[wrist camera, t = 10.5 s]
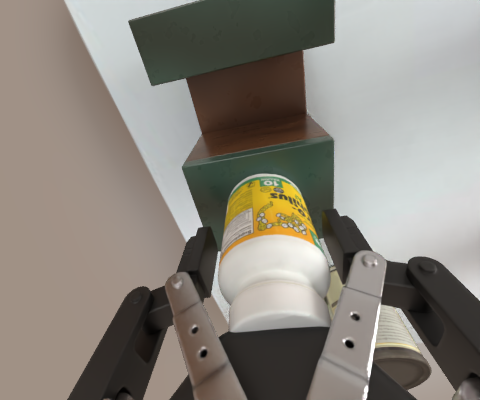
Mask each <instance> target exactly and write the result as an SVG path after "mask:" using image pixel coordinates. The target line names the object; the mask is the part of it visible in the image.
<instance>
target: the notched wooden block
mask: <svg viewBox="0 0 480 400" xmlns="http://www.w3.org/2000/svg"><path fill="white" fill-rule="evenodd" d="M128 22H129V25H130V28H131V31H132V33H133V36H134V39H135V42H136V44H137V47H138V50H139V52H140V55H141V58H142V61H143V63H144V66H145V69H146V72H147V74H148V77H149V80H150V83H151V85H152V86H155V85H159V84H164V83H168V82H172V81H176V80H180V79H184V78H186V80H187V83H188V87H189V90H190V94H191V97H192V101H193V104H194V108H195V111H196V114H197V118H198V121H199V125H200V128H201V132H202V135H201V137H200V139H199V140H198V142H197V143H196V145H195V146H194V148H193V150H192V151H191V153H190V154H189V156H188V158H187V159H186V161H185V163H184V164H183V166H182V170H183V173H184V176H185V178H186V181H187V184H188V186H189V189H190V192H191V195H192V197H193V200H194V203H195V206H196V208H197V211H198V214H199V217H200V219H201V222H202V225H203V227H208V226H210V227H211V228H212V231H213V234H214V237H215V240H216V243H217V248H218V251H221V248H222V240H223V234H224V227H225V218H226V211H227V204H228V200H229V197H230V194H231V192H232V190H233V189H234V188H235V187H236V185H237V184H238V183H240V182H241V181H242V180H244V179H245V178H247V177H249V176H252V175H256V174H276V175H280V176H283V177H285V178H287V179H288V180H290V181H291V182H293V183H294V184H295V185H296V187H297V188H298V189H299V191H300V193H301V195H302V197H303V200H304V202H305V205H306V208H307V210H308V213H309V215H310V218H311V221H312V223H313V226H314V228H315V231H316V233H317V236H318V238H319V239H320V238H323V233H322V210H328V209H334V139H333V138H332V137H331V136H330V135H329V134H328V133H327V132H326V131H325V130H324V129H323V128H322V127H321V126H320V125H318V124H317V123H316V122H315V121H314V120H313V119H312V118H311V117H310V116H309V115H308V114H307V111H306V92H305V72H304V53H303V50H306V49H310V48H314V47H319V46H323V45H327V44H331V43H334V42H335V0H199V1H195V2H192V3H188V4H185V5H181V6H178V7H174V8H171V9H167V10H164V11H160V12H157V13H153V14H150V15H146V16H143V17H139V18H136V19H132V20H129V21H128Z"/></svg>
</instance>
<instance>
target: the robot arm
mask: <svg viewBox="0 0 480 400" xmlns="http://www.w3.org/2000/svg"><path fill="white" fill-rule="evenodd" d="M322 233H323V238H324V241H325V243H326V246H327V248H328V251H329V253H330V256H331V258H332V260H333V263H334V265H335V268H336V270H337V273H338V275H339V277H340V280H341V282H342V285H345V286H343V287H342V290H341V293H340V296H339V300H338V303H337V306H336V310H335V313H334V316H333V319H332V323H331V326H330V327H323V326H318V327H300V328H284V329H270V330H260V331H249V332H230V331H228V332H227V333H225V334H223V335H221V336H220V337H218V335H217V333H216V331H215V329H214V327H213V325H212V323H211V320H210V318H209V316H208V314H207V312H206V309H205V307H204V305H203V302H204V298H208V297H210V296H211V291H212V285H213V279H214V273H215V266H216V260H217V254H218V248H217V243H216V240H215V237H214V234H213V231H212V228H211V227H210V226H208V227H201V228H198V230H197V234H196V236H193V237H191V238H190V239H189V240H188V242H187V243H186V246H185V250H184V252H183V255H182V258H181V261H180V264H179V266H178V270H177V272H176V274H174V275H172V276H171V277H170V278H169V279H168V280H167V282H166V284H165V286H163V287H160V288H158V289H155V290H152V291H150V290H149V288H147V287H144V286H142V287H138V288H136V289H134V290H132V291H131V292H130V293H129V294H128V295H127V296H126V297H125V299H124V301H123V302H122V304H121V306H120V308H119V309H118V311H117V313H116V315H115V317H114V318H113V320H112V322H111V324H110V325H109V327H108V329H107V331H106V332H105V334H104V336H103V338H102V340H101V341H100V343H99V345H98V347H97V348H96V350H95V352H94V354H93V355H92V357H91V359H90V361H89V362H88V364H87V366H86V368H85V370H84V371H83V373H82V375H81V376H80V378H79V380H78V382H77V384H76V385H75V387H74V389H73V391H72V392H71V394H70V396H69V398H68V399H67V400H143V397H144V394H145V392H146V389H147V386H148V383H149V380H150V377H151V374H152V371H153V368H154V366H155V363H156V360H157V357H158V354H159V352H160V349H161V346H162V343H163V340H164V337H165V334H166V331H167V329H168V327H169V326H172V325H174V327H175V330H176V333H177V337H178V341H179V344H180V347H181V351H182V354H183V357H184V361H185V364H186V367H187V371H188V376H187V377H186V378H185V380H184V381H183V383H182V384H181V385H180V386H179V388H178V389H177V390H176V392H175V393H174V394H173V396H172V397H171V398H170V400H417V399H416V398H415V397H414V396H412V395H411V394H410V393H409V392H408V391H407V390H406V389H404V388H403V387H402V386H401V385H400V384H399V383H398V382H397V381H395V380H394V379H393V378H392V377H391V376H390V375H389V374H387V373H386V372H385V371H384V370H383V369H382V368H381V367H380V366H378V365H377V364H376V363H375V362H374V361H373V360H372V358H373V352H374V345H375V339H376V332H377V326H378V319H379V313H380V306H381V305H386V306H391V307H396V308H401V310H402V311H403V313H404V314H405V316H406V317H407V319H408V320H409V322H410V323H411V325H412V326H413V328H414V329H415V331H416V332H417V334H418V335H419V337H420V338H421V340H422V341H423V343H424V344H425V346H426V347H427V349H428V350H429V352H430V353H431V355H432V356H433V358H434V359H435V361H436V362H437V364H438V365H439V366H440V368H441V369H442V371H443V373H444V374H445V376H446V377H447V379H448V380H449V382H450V383H451V385H452V386H453V388H454V389H455V391H456V393H455V394H454V396H453V398H452V400H480V301H479V300H478V299H477V298H476V297H475V296H474V295H473V294H472V293H471V292H470V291H469V290H468V289H467V288H466V287H465V286H464V285H463V284H462V283H461V282H460V281H459V280H458V279H457V278H456V277H455V276H454V275H453V274H452V273H451V272H450V271H449V270H448V269H447V268H446V267H445V266H443V265H442V264H441V263H440V262H438V261H436V260H434V259H431V258H428V257H413V258H411V259H410V260H409V261H408V264H406V263H398V262H391V261H387V260H385V259H384V257H382V256H381V255H380V254H378V253H376V252H373V250H372V249H371V247H370V246H369V244H368V243H367V241H366V240H365V238H364V236H363V235H362V233H361V232H360V230H359V229H358V228H357V226H356V224H355V222H354V221H353V220H352V219H350V218H349V217H347V216H340V215H339V214H338V212H337V210H336V209H328V210H322Z"/></svg>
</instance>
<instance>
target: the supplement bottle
mask: <svg viewBox="0 0 480 400" xmlns="http://www.w3.org/2000/svg"><path fill="white" fill-rule="evenodd" d="M218 282H219V287H220V290H221V293H222V295H223V297H224V298H225V300H226V301H227V302H228V303H229V304H230V305H231V307H230V310H229V331H230V332H249V331H260V330H270V329H284V328H300V327H318V326H323V327H330V326H331V323H332V321H331V318H330V314H329V310H328V306H327V304H326V302H325V301H324V300H323V299H324V298H325V296H326V294H327V293H328V290H329V287H330V282H331V273H330V268H329V264H328V261H327V258H326V256H325V254H324V251H323V249H322V246H321V243H320V241H319V238H318V236H317V233H316V231H315V228H314V226H313V223H312V221H311V218H310V215H309V213H308V210H307V208H306V205H305V202H304V200H303V197H302V195H301V193H300V191H299V189H298V188H297V187H296V185H295V184H294V183H293V182H291V181H290V180H288V179H287V178H285V177H283V176H280V175H276V174H256V175H252V176H249V177H247V178H245V179H244V180H242V181H241V182H240V183H238V184H237V185H236V187H235V188H234V189H233V190H232V192H231V194H230V197H229V200H228V204H227V211H226V218H225V227H224V234H223V240H222V248H221V255H220V262H219V271H218Z"/></svg>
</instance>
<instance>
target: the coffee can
mask: <svg viewBox="0 0 480 400" xmlns="http://www.w3.org/2000/svg"><path fill="white" fill-rule="evenodd" d="M330 273H331V282H330V287H329V290H328V293H327V294H326V296H325V298H324V299H323V300H324V301H325V302H326V304H327V306H328V310H329V314H330V318H331V321H332V319H333V316H334V313H335V310H336V306H337V303H338V300H339V296H340V293H341V290H342V287H343V286H345V285H342V282H341V280H340V277H339V275H338V273H337V270H336V268H335V266H333V267H331V268H330ZM372 360H373V361H374V362H375V363H376V364H377V365H378V366H380V367H381V368H382V369H383V370H384V371H385V372H386V373H387V374H389V375H390V376H391V377H392V378H393V379H394V380H395V381H397V382H398V383H399V384H400V385H401V386H402V387H403V388H404V389H406V390H408V389H411V388H413V387H416V386H418V385H420V384H421V383H423V382H424V381H425V380H427V379H428V378H429V376H430V375H431V367H430V365H429V363H428V362H427V360H426V359H425V358H424V357H423V355H422V354H421V352H420V351H419V349H418V347H417V345H416V343H415V342H414V340H413V338H412V337H411V335H410V333H409V331H408V330H407V328H406V326H405V325H404V323H403V321H402V320H401V318H400V316H399V315H398V313H397V311H396V310H395V308H394V307H391V306H386V305H381V306H380V313H379V319H378V326H377V332H376V339H375V345H374V352H373V358H372Z"/></svg>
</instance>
